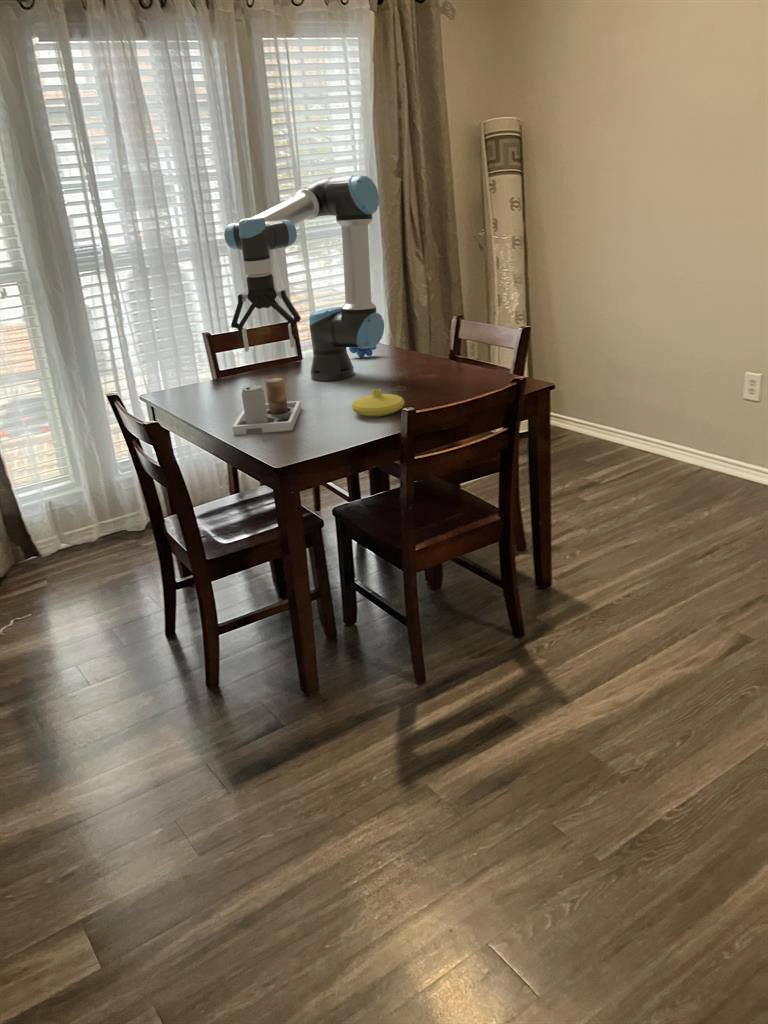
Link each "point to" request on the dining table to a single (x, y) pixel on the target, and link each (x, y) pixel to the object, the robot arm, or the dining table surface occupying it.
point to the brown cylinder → (276, 396)
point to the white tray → (274, 426)
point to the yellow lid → (378, 404)
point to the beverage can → (254, 405)
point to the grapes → (362, 351)
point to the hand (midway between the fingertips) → (269, 348)
